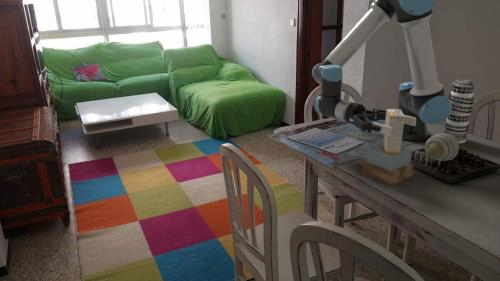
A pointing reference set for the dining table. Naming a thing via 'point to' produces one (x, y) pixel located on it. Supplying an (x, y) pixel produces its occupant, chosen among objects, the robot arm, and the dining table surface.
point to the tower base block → (387, 173)
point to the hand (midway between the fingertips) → (403, 126)
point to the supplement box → (394, 131)
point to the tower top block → (388, 157)
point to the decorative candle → (460, 109)
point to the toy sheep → (442, 146)
